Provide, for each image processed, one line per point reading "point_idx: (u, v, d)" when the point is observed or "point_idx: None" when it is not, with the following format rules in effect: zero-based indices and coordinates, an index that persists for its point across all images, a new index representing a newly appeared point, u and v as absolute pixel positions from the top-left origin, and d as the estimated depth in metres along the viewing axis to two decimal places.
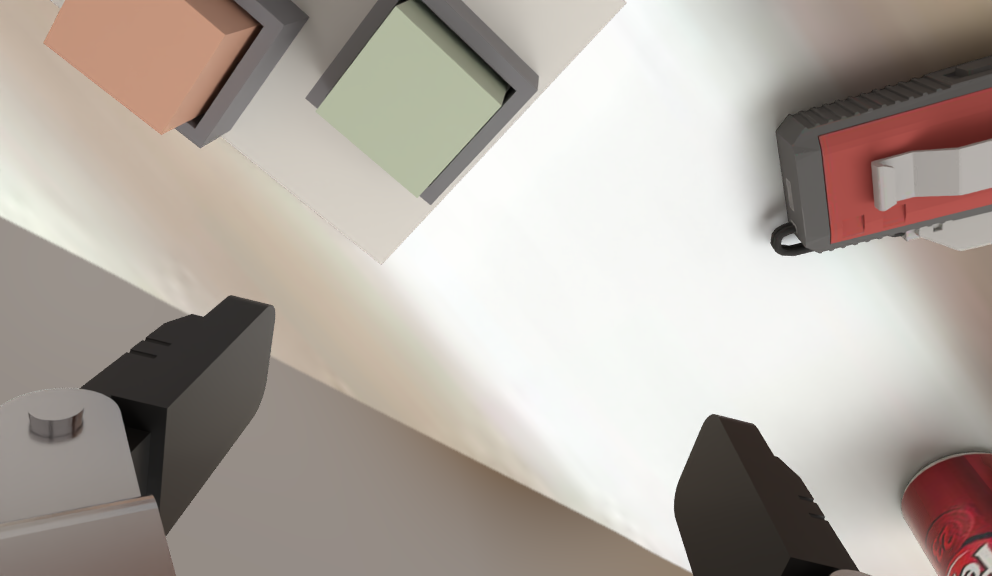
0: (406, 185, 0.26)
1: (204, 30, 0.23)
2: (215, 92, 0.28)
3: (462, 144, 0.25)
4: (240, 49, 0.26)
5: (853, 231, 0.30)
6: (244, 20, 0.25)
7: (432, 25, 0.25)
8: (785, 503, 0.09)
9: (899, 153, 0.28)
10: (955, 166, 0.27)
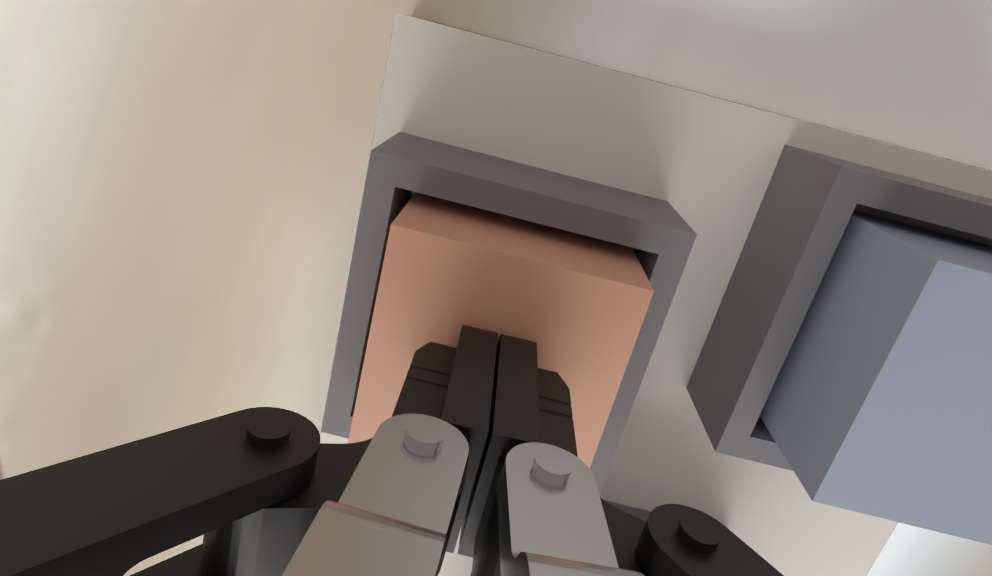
0: None
1: None
2: None
3: None
4: None
5: None
6: None
7: None
8: (519, 397, 0.10)
9: None
10: None
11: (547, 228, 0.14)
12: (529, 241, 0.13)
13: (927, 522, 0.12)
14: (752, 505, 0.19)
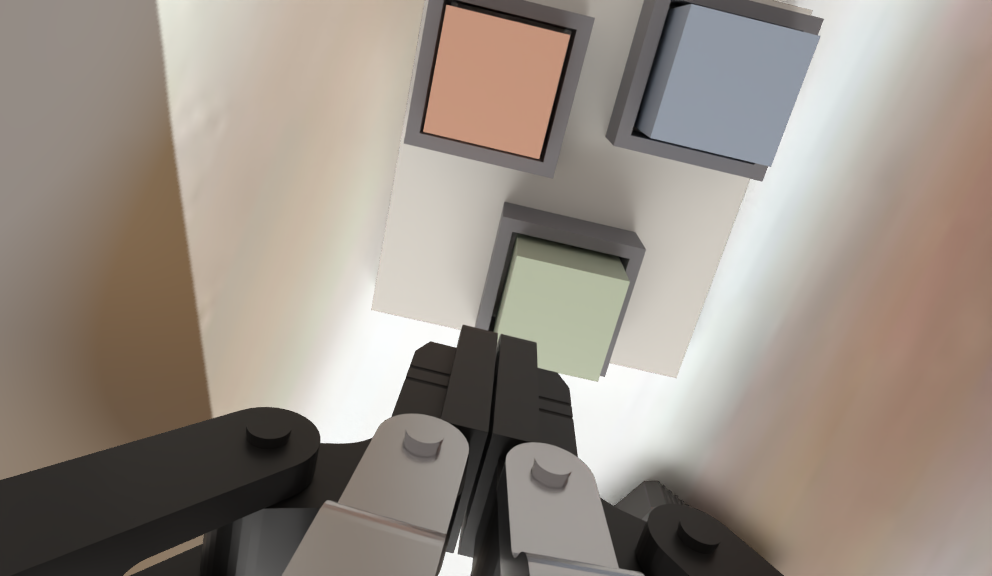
0: None
1: (533, 141, 0.27)
2: None
3: (553, 370, 0.30)
4: None
5: None
6: None
7: None
8: (519, 397, 0.10)
9: None
10: None
11: None
12: None
13: (706, 147, 0.26)
14: (648, 214, 0.32)
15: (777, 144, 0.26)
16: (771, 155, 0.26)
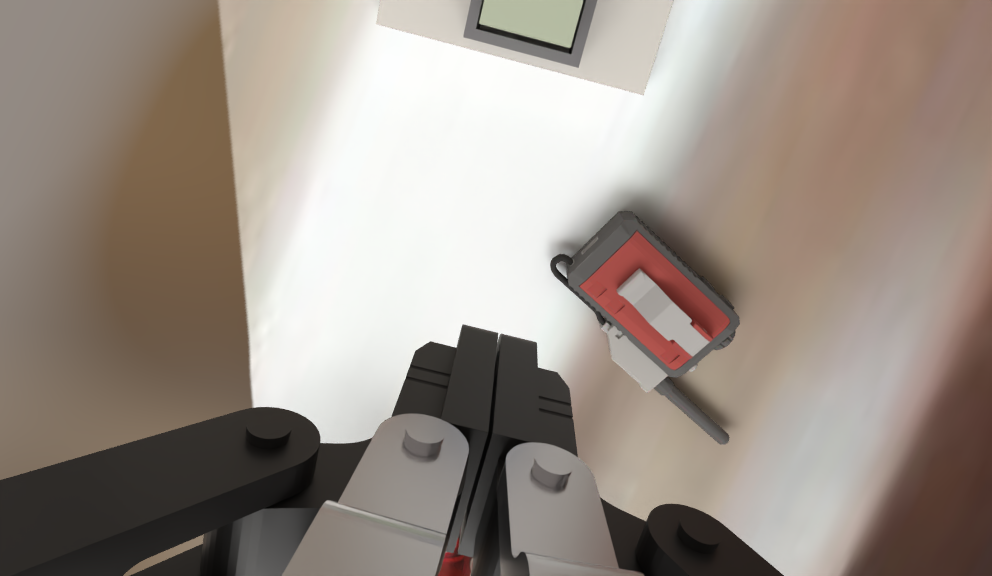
0: (484, 10, 0.34)
1: None
2: None
3: (532, 35, 0.34)
4: None
5: (593, 292, 0.45)
6: None
7: None
8: (519, 397, 0.10)
9: (651, 279, 0.44)
10: (662, 308, 0.43)
11: None
12: None
13: None
14: None
15: None
16: None
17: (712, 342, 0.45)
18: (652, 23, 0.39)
